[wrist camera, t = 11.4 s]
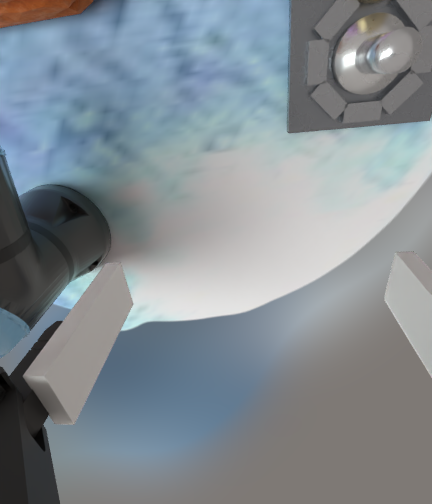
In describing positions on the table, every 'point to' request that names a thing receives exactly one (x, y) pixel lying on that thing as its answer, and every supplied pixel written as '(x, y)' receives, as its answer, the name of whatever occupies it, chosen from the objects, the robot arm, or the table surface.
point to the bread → (38, 10)
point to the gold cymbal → (369, 1)
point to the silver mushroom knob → (374, 53)
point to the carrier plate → (321, 75)
